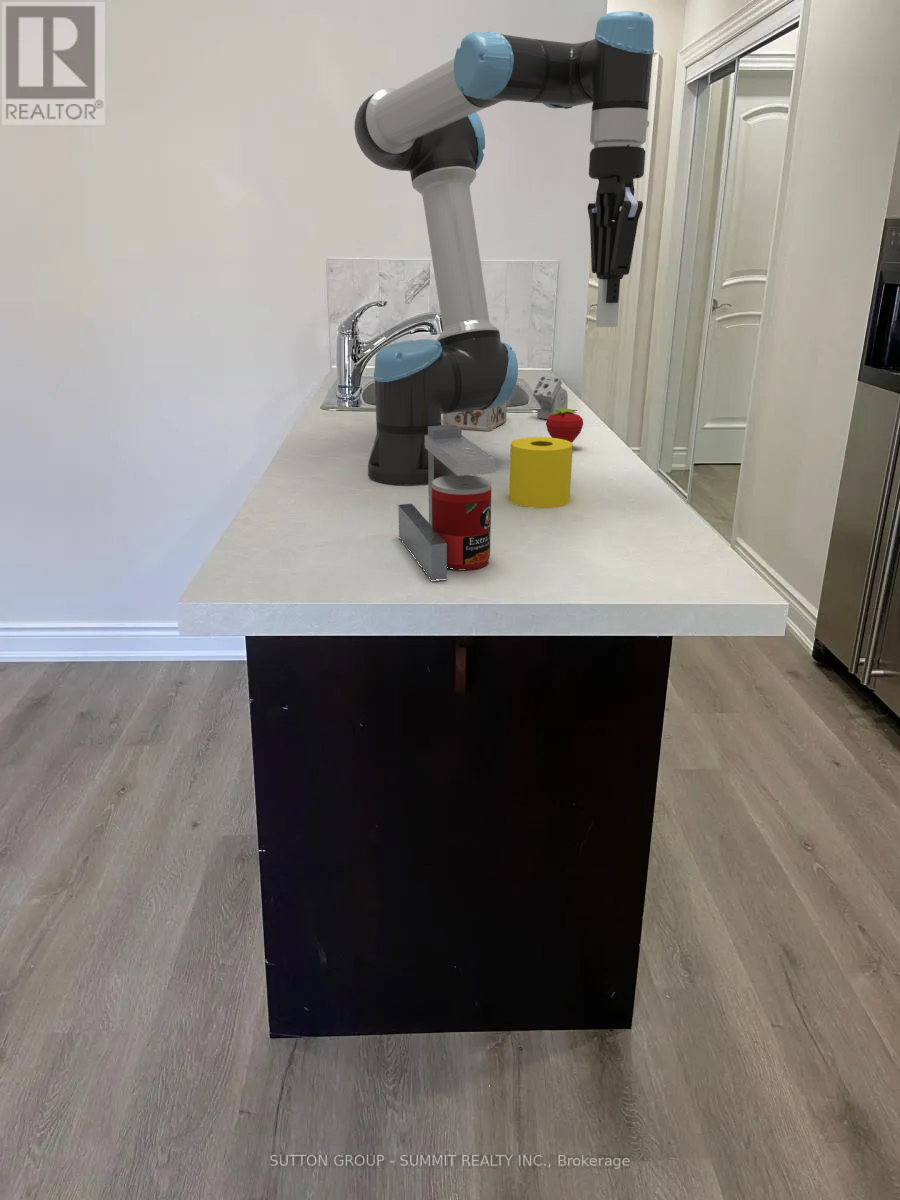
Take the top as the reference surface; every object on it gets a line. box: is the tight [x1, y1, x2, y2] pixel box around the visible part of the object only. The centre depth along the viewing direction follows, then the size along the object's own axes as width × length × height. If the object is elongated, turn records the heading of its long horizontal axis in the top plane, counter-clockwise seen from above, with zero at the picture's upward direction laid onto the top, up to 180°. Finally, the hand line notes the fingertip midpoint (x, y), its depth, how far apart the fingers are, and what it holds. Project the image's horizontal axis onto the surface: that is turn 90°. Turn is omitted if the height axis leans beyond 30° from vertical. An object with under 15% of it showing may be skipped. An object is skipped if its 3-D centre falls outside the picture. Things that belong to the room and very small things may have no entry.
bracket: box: [397, 424, 497, 581], centre depth 122 cm, size 10×20×16 cm, turn 16°
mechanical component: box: [531, 375, 569, 420], centre depth 213 cm, size 5×8×10 cm
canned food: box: [432, 475, 492, 571], centre depth 120 cm, size 8×8×11 cm
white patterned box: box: [442, 401, 508, 432], centre depth 205 cm, size 12×12×18 cm
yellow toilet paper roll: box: [508, 436, 573, 509], centre depth 149 cm, size 10×10×9 cm
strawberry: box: [545, 401, 584, 444], centre depth 183 cm, size 6×8×10 cm
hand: (606, 326), depth 132 cm, fingers closed
